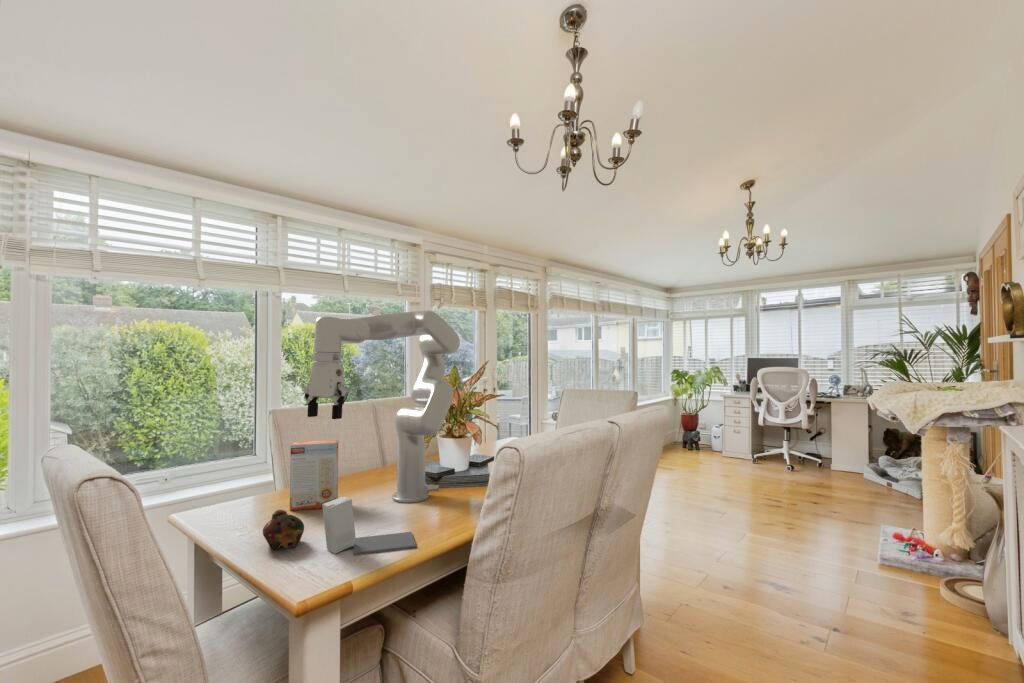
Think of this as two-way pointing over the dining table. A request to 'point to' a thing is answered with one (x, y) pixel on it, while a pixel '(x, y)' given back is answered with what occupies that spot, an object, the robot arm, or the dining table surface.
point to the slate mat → (384, 543)
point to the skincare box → (339, 524)
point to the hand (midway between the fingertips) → (324, 417)
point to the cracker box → (313, 474)
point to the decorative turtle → (283, 530)
